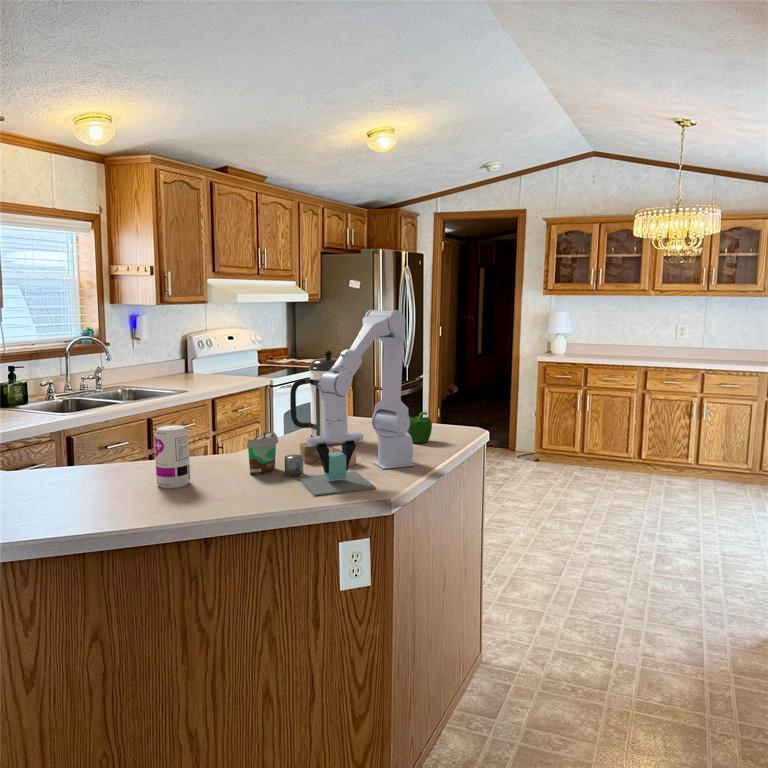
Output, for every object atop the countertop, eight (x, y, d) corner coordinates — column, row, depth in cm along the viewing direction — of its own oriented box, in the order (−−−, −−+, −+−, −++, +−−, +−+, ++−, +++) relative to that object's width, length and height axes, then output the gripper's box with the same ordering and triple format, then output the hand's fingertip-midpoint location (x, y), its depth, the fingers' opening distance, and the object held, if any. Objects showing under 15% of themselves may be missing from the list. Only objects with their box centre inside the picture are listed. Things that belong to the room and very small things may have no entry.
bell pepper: (402, 443, 216) (402, 413, 215) (411, 438, 224) (411, 409, 222) (426, 445, 213) (427, 415, 212) (435, 440, 221) (435, 410, 219)
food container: (269, 477, 178) (268, 441, 177) (248, 476, 179) (246, 440, 178) (285, 465, 190) (284, 431, 189) (265, 464, 191) (264, 430, 190)
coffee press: (324, 433, 231) (323, 347, 227) (361, 439, 222) (360, 349, 218) (289, 443, 217) (287, 351, 213) (327, 450, 208) (325, 354, 204)
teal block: (340, 474, 175) (340, 451, 174) (346, 478, 171) (346, 455, 170) (324, 475, 174) (324, 453, 173) (329, 480, 169) (329, 457, 169)
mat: (355, 472, 182) (355, 470, 182) (375, 489, 168) (375, 487, 168) (298, 478, 177) (298, 477, 177) (314, 496, 162) (313, 494, 162)
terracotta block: (346, 461, 195) (346, 444, 194) (356, 464, 191) (356, 447, 190) (332, 463, 192) (332, 446, 192) (341, 467, 188) (341, 450, 188)
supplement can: (160, 491, 167) (157, 432, 165) (154, 482, 174) (151, 426, 172) (193, 486, 170) (190, 428, 168) (186, 478, 178) (184, 423, 176)
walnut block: (316, 458, 199) (316, 441, 198) (321, 462, 194) (321, 445, 193) (300, 459, 197) (300, 443, 196) (304, 464, 192) (304, 447, 191)
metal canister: (302, 471, 184) (302, 454, 183) (304, 476, 179) (304, 458, 178) (283, 472, 183) (283, 454, 182) (285, 477, 178) (285, 459, 177)
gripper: (356, 414, 176) (357, 464, 178) (303, 418, 171) (304, 470, 173) (366, 419, 170) (366, 471, 172) (310, 423, 164) (311, 477, 166)
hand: (335, 471), depth 172 cm, fingers closed on teal block, 4 cm apart
